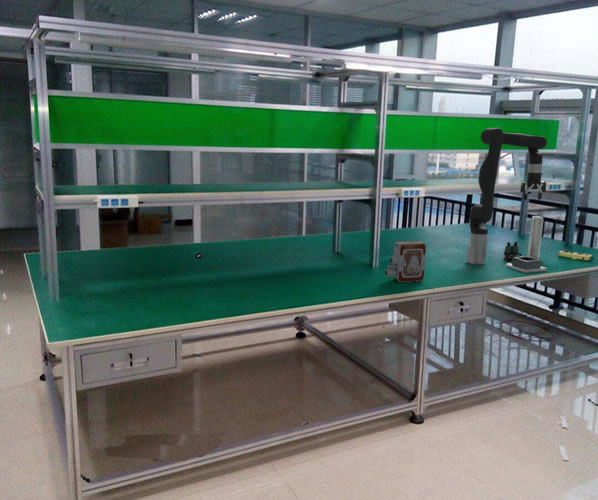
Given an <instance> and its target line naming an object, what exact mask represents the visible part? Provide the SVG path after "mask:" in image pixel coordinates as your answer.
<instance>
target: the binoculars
mask: <svg viewBox="0 0 598 500" xmlns="http://www.w3.org/2000/svg"><path fill="white" fill-rule="evenodd" d="M511 243H512V242H509V241H507V242H506V245H505V247H504V252H503V256H504V257H503V259H504V260H506V261H508V262H512V257H522V256H523V254H522V253H520V251H519V246H518V243H519V242H518V241H514V242H513V244H511Z"/></svg>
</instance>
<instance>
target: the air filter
mask: <svg viewBox="0 0 598 500" xmlns="http://www.w3.org/2000/svg"><path fill="white" fill-rule="evenodd" d="M543 225H544V217H543V216H538V215H537V216H536V215H533V216H531V220H530V230H529V241H528V247H527V256H529V257H532V258H535V259H539V260H540V253H541V246H542V245H541V244H542V236H543V235H542V234H543V228H544V226H543Z"/></svg>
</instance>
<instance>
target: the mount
mask: <svg viewBox="0 0 598 500" xmlns="http://www.w3.org/2000/svg"><path fill="white" fill-rule="evenodd" d="M504 266H505V267H506V268H510V269H511V270H514V271H519V272H521V273H523V274H524V273H525V274H527V273H538V272H546V271H548V268H547V267H545V266H542V260H541V259H540V258H539V259H535V258H532V257H529V256H528V255H522V257H512V261H511V262H510V263H509V262H508V263H505V265H504Z"/></svg>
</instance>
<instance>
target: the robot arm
mask: <svg viewBox="0 0 598 500" xmlns="http://www.w3.org/2000/svg"><path fill="white" fill-rule="evenodd" d="M480 141H481V143H482V144H484V145H487V146H488V151H487V155H486V157H485V159H484V160H483V162H482V164H481V165H480V169H479V173H478V179H477V180H478V185H479V188H480V192H481V193H482V203H479V204H474V205H472V207H471V209H470V213H469V229H470V236H469V245H468V246H467V252H466V253H467V254H466V255H467V256H466V263H469V264H471V265H484V264H485V263H486V255H487V246H488V245H487V243H488V236H489V235H488V233H489V229H488V228H487V227H486V226H485V224H484V223H488V222H489V221H491V219H492V217H493V214H494V199H495V188H496V182H497V176H498V175H497V174H498V167H499V162H500V161H499V160H500V155H501V152H502V147H503V145H506V146H507V145H508V146H512V147H513V146H515V147H519V148H527V151H528V167H527V174H526V175H527V176H526V181H521V185H520V193H522V194H523V195H522V196H523V197H522V199H523V201H527V200H528V193H529V192H530V191H531V190H536V191H537V200H539V201H541V200H542V196H543V193H546V192H547V191H546V190H547V182H546V181H542V175H543V174H542V173H543V154H542V153H541V152H539V150H542V149H544V148H546V146H547V145H548V140H547V138H546V137H545V136H542V135H541V136H540V135H530V134H525V133H515V132H514V133H511V132H510V133H509V132H504V130H503V129H502V128H500V127H489V128H485V129H484V130H483V131H482V132H481V133H480Z"/></svg>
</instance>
